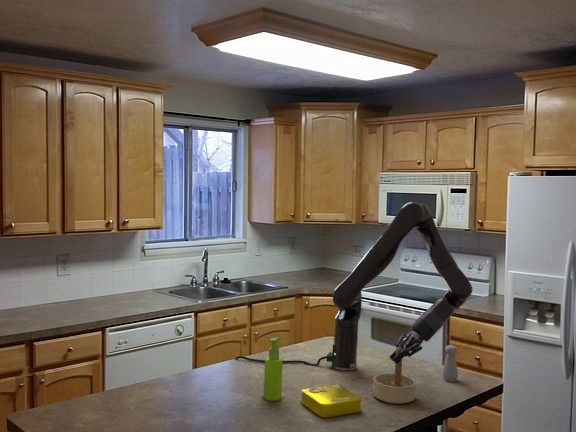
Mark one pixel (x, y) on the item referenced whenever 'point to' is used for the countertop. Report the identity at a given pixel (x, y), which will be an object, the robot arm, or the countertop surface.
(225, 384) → the countertop surface
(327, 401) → the element tile
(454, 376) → the salt shaker
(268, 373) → the soap dispenser
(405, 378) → the bowl
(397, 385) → the wooden pestle
